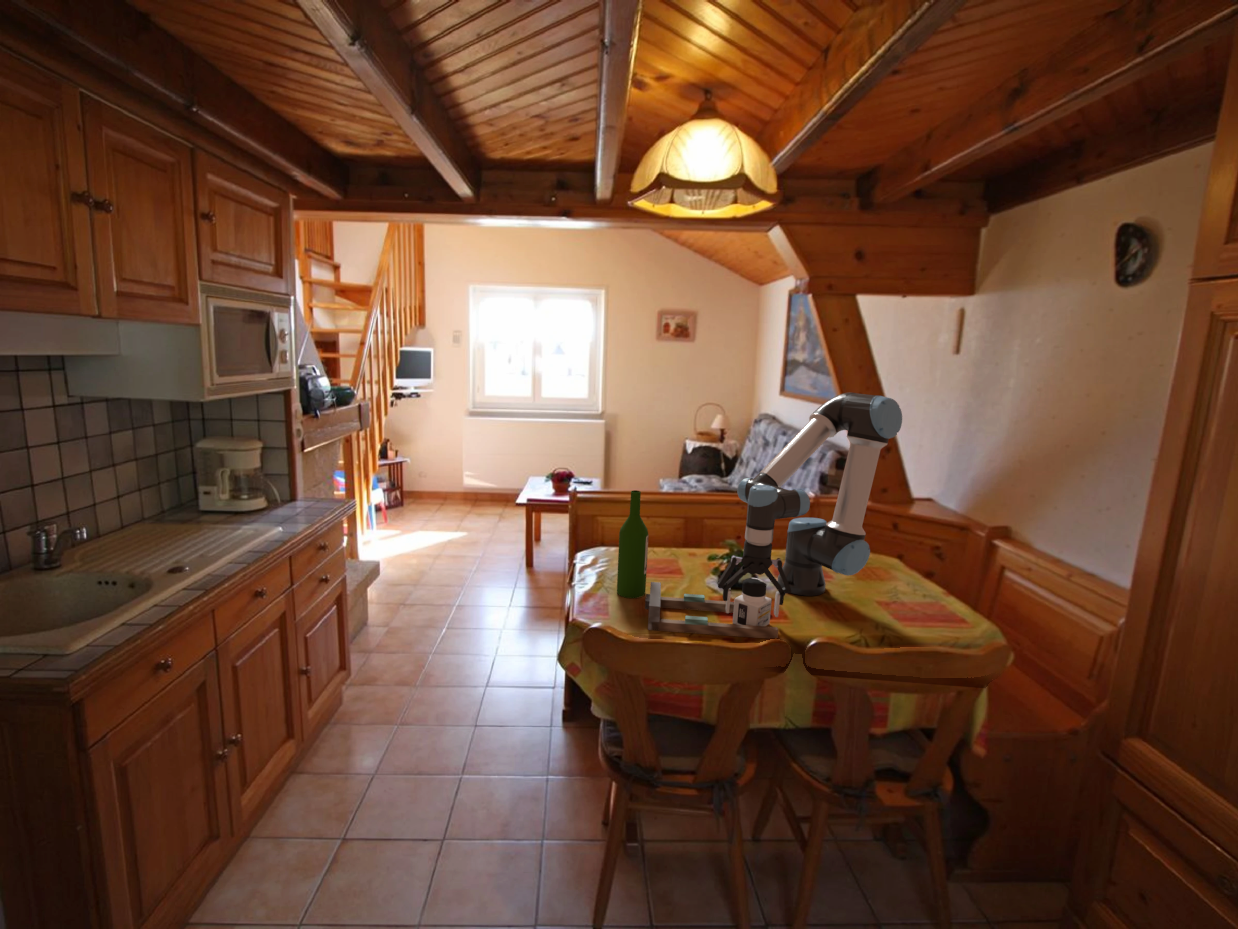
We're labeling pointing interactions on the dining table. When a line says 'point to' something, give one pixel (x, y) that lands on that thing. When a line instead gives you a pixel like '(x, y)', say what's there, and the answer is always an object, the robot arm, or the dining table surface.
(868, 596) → the dining table surface
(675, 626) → the wooden frame
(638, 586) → the wine bottle
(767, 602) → the container
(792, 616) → the dining table surface
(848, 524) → the robot arm
